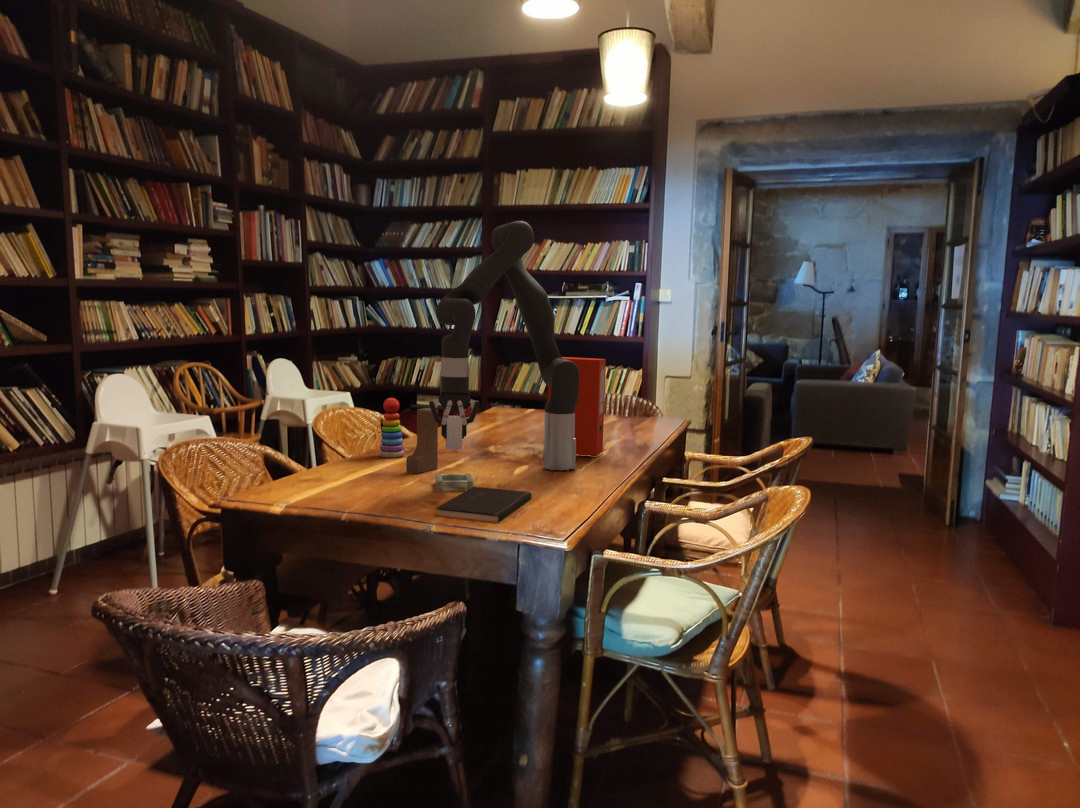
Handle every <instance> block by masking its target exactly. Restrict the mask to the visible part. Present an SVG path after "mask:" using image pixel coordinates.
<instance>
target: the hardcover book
mask: <svg viewBox="0 0 1080 808" xmlns="http://www.w3.org/2000/svg"><path fill="white" fill-rule="evenodd" d="M532 495H533V494H532V492H530V491H524V490H514V489H503V488H494V487H483V486H482V487H481V486H473V487H472V488H471V489H469V490H467V491H462V492H461V493H460V494H458V495H456V496H454V497H453V498H451V499H449V500H448V501H446V502H444V503H442V504H440V505H439V506H436V507H435V509H434V510H436V515H437V516H441V515H444V516H443V517H449V516H450V517H451V518H458V519H459V518H460V519H466V518H467V520H469V519H470V520H475V521H484V522H492V523H493V522H494V523H497V524H498V523H500V522H502V521H503V520H505V519H506V518H507V517H509V516H510V515H512V514H513V513H514V512H515V511H517V510H518V509H520V508H521V507H522V506H524V505H525V504H526V503H528V502H529V501H531V500H532V497H533V496H532Z"/></svg>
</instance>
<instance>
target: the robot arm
mask: <svg viewBox="0 0 1080 808" xmlns="http://www.w3.org/2000/svg"><path fill="white" fill-rule="evenodd" d="M534 241H535V234H534V231H533V228H532V226H531V225H530V224H529V223H528V222H526V221H524V220H515V221H510V222H508V223H505V224H502V225H497V226H496V227H495V228H494V229H493V230H492V233H491V244H492V248H493V250H494V252H492V253H491V255H488V257H486V258H485V259H484V260H483V261H481V262H480V263H479V264H477V265H476V266H475V267H474V268H473V269H472V270H471V272H469V273H468V275H467V276H466V278H464V280H463V281H462V282H461V284H459V285H458V286H456V287H455V288H453V289H452V290H451V291H449V292H448V293H446V295H444V296H443V297H442V298H441V299H440V301H439V302H438V303H437V306H436V310H435V315H436V318H437V320H438V322H439V323H440V324H442V325H446V326H453V330H452V332H451V334H446V335H444V336H443V337H442V340H441V361H440V372H439V374H440V380H439V381H440V383H439V384H440V385H439V387H440V388H439V389H440V392H439V395H438V398H435V399H432V400H431V399H430V400H429V401H428V405H429V408H431V411H432V414H433V417H434V420H435V422H436V423H438V424H440V425H441V426H440V427H441V428H440V429H441V431H440V432H441V433H440V434H441V437H443V439H444V440H446V439H447V425H446V422H447V418H448V416H450V413H456V414H459V416H460V417H461V418H462V440H464V439H465V437H467V435H468V434H467V433H468V432H467V431H468V430H467V426H468V425H469V424H472V423H474V421H475V418H476V415H477V413H478V411H479V408H480V406H481V405H480V402H479V400H474V399H472V398H471V396H470V391H469V390H470V389H469V388H470V363H469V351H470V350H469V347H470V345H469V342H470V339H471V335H472V331H473V328H474V324H475V320H476V314H477V313H476V308H475V305H478V304H480V302H482V301H483V300H484V298H485V297H486V295H488V293H489V292H490V291H491V289H492V288H493V287H494V285H495V284H496V283H497V282H498V281H499V279H501V278H502V277H503V275H504V274H505V276H506V279H507V280H508V283H509V285H510V288H511V290H512V294H513V296H514V298H515V302H516V305H517V307H518V309H519V313H520V315H521V319H522V320H523V324H524V326H525V329H526V331H527V334H528V337H529V339H530V342H531V345H532V347H533V350H534V353H535V358H536V360H537V365H538V369H539V372H540V376H541V380H542V381H543V383H544V384H545V385H546V386H547V387H548V386H549V387H551V397H550V399H549V401H548V400H547V401H546V402H545V404H544V421H543V422H544V427H543V429H544V430H543V461H542V462H543V463H542V467H544V468H546V469H545V470H547V469H549V470H548V471H553V470H567V471H570V470H569V469H575V470H576V458H577V456H576V438H575V437H574V434H575V408H576V405H577V402H578V396H579V382H580V375H579V369H578V367H577V365H576V364H575V363H574V362H572V361H570V360H566V359H562V357H563V356H562V355H561V353H560V350H559V348H558V345H557V342H556V339H555V338H556V337H555V313H554V310H553V306H552V303H551V301H550V298H549V296H548V294H547V292H546V290H545V289H544V288H543V287H542V285H540V284H539V283H540V282H538V281H537V280H536V279H535V278H534V277H533V276H532V275H531V274H530V273H529V272H528V270H527V269H526V267H525V265H524V263H523V260H522V257H523V256H524V255H525V254H527V252H529V251H530V250H531V249H532V247H533V244H534V243H535V242H534ZM439 404H440V405H441V406H442V408H443V413H442V418H441V417H439V413H438V414H437V411H436V409H437V408H438V406H439ZM469 404H470V407H471V411H470V413H469V416H468V418H466V414H465V409H466V408H467V407H468V405H469ZM544 468H543V469H544Z"/></svg>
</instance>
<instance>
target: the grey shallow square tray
mask: <svg viewBox="0 0 1080 808" xmlns="http://www.w3.org/2000/svg"><path fill="white" fill-rule="evenodd" d="M435 487H436V488H437V489H436V492H437V491H438V492H456V491H455V490H458V491H457V492H461V491H460V490H463V491H462V492H465V490H469V489H471V488H472V487H474V480H473V478H472V474H471V473H436V474H435Z"/></svg>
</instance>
